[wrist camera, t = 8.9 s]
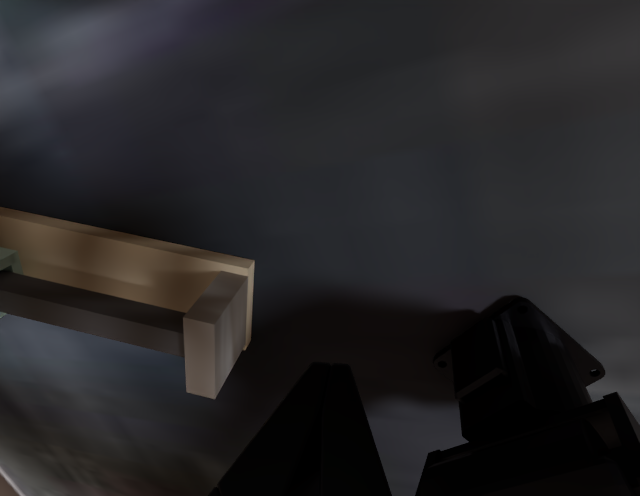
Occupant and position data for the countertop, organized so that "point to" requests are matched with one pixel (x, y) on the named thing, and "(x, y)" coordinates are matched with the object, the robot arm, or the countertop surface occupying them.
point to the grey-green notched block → (9, 263)
